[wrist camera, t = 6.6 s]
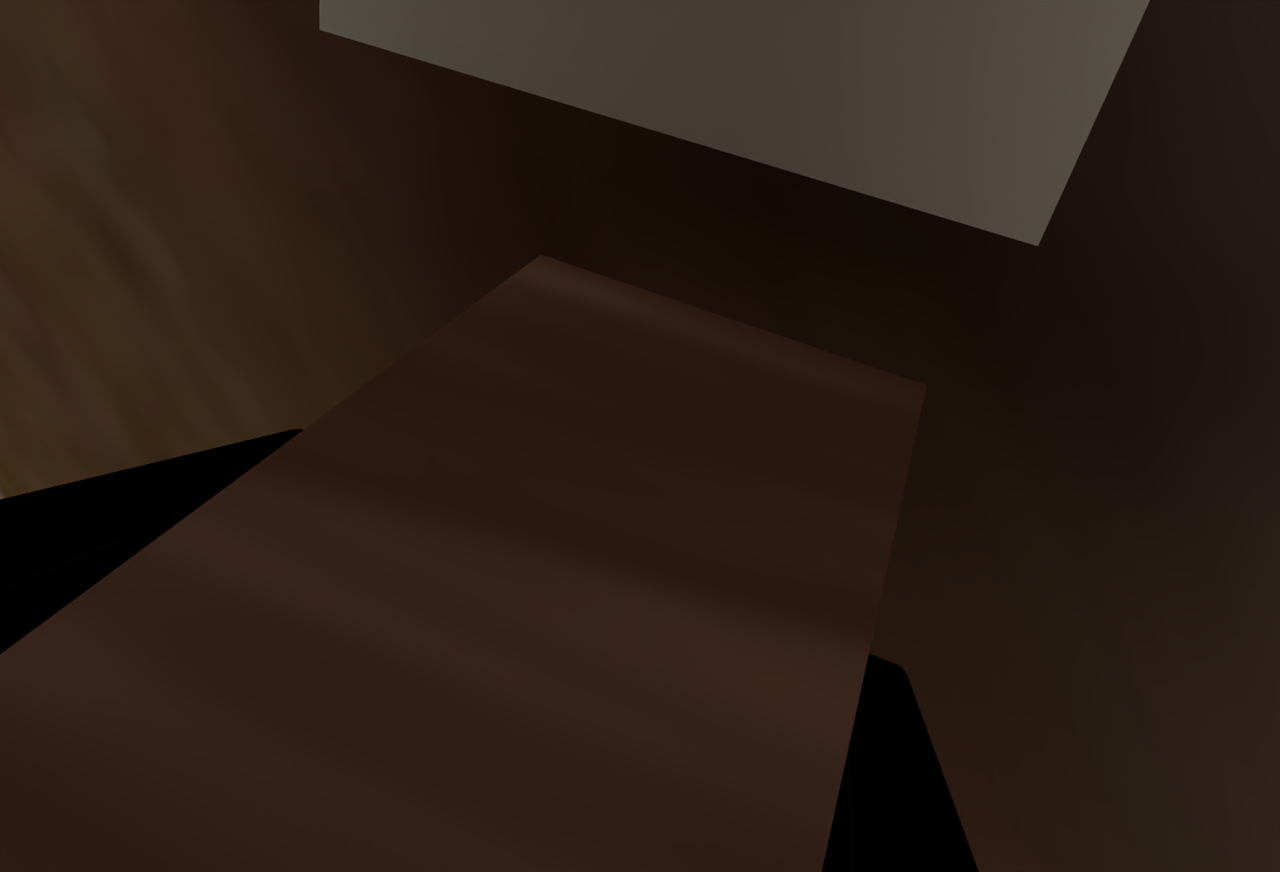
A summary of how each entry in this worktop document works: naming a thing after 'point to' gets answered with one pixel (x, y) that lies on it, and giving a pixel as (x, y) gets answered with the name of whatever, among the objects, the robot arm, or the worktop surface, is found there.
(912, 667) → the worktop surface
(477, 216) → the worktop surface
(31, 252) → the worktop surface
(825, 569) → the end domino
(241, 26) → the worktop surface
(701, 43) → the domino
